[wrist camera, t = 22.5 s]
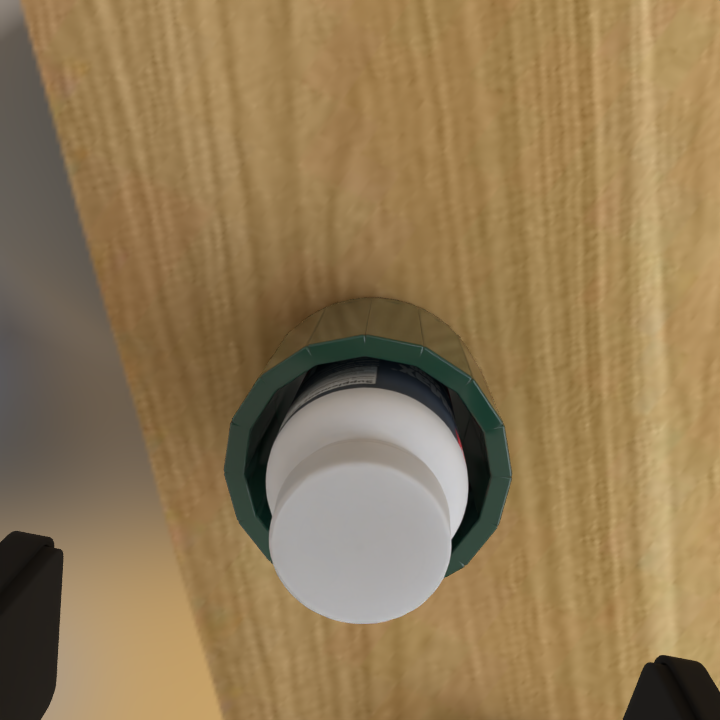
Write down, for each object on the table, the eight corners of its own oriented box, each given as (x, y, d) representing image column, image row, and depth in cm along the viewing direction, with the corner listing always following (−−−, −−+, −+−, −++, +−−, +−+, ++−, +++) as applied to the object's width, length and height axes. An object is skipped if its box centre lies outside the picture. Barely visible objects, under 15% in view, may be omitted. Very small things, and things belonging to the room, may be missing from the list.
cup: (249, 482, 24) (209, 569, 19) (281, 276, 22) (245, 310, 17) (456, 523, 24) (472, 620, 19) (508, 321, 22) (543, 369, 17)
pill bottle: (475, 443, 23) (521, 606, 14) (340, 498, 24) (308, 683, 15) (412, 307, 22) (422, 397, 13) (272, 370, 22) (196, 493, 14)
